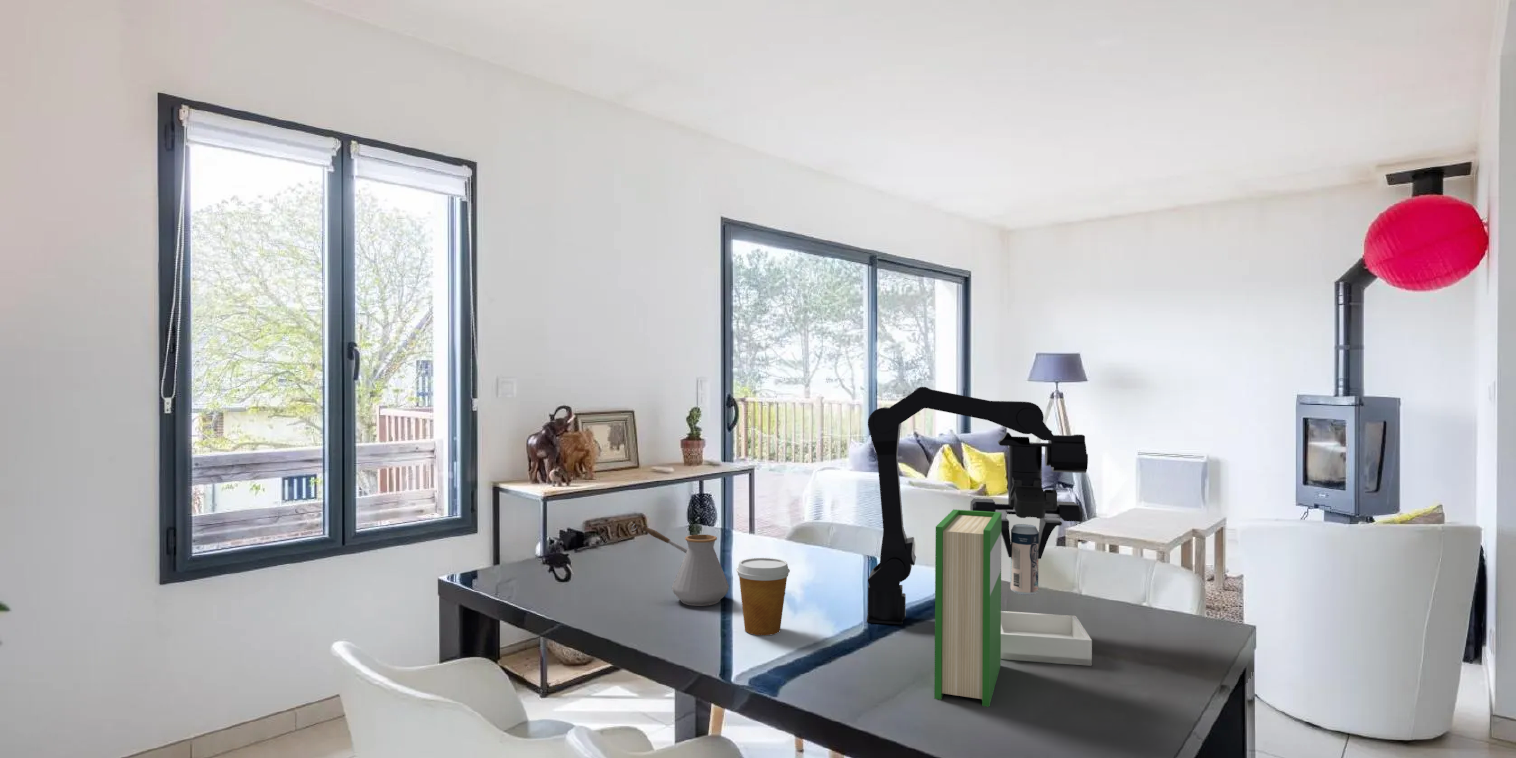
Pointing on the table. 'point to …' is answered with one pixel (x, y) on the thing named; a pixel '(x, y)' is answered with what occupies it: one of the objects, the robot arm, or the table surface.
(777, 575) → the disposable coffee cup
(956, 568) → the hardback book
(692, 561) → the coffee pot
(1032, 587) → the beer can
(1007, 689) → the table surface
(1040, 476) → the robot arm
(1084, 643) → the bin
